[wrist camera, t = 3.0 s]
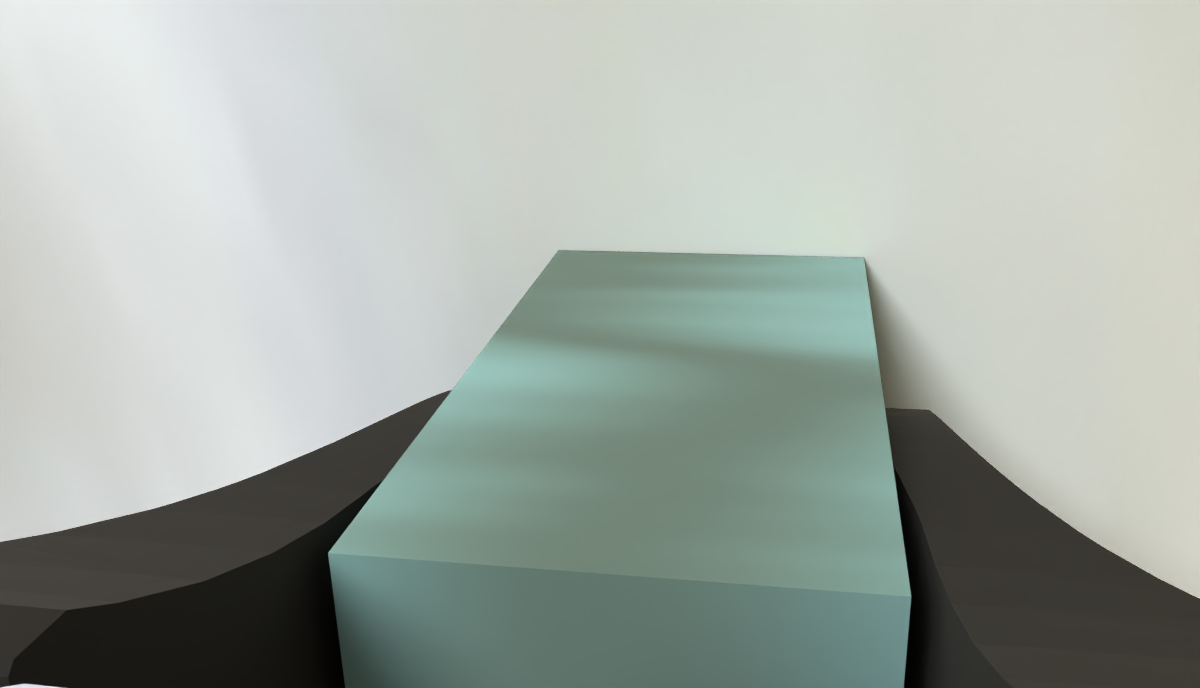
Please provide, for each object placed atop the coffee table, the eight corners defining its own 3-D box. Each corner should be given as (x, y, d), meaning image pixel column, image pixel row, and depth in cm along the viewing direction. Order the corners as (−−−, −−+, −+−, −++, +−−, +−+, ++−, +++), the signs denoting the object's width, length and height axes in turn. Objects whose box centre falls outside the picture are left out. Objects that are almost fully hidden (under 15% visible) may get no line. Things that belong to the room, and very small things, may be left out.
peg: (569, 512, 15) (381, 970, 8) (558, 250, 14) (328, 552, 7) (847, 532, 14) (873, 1039, 8) (863, 257, 13) (911, 596, 7)
